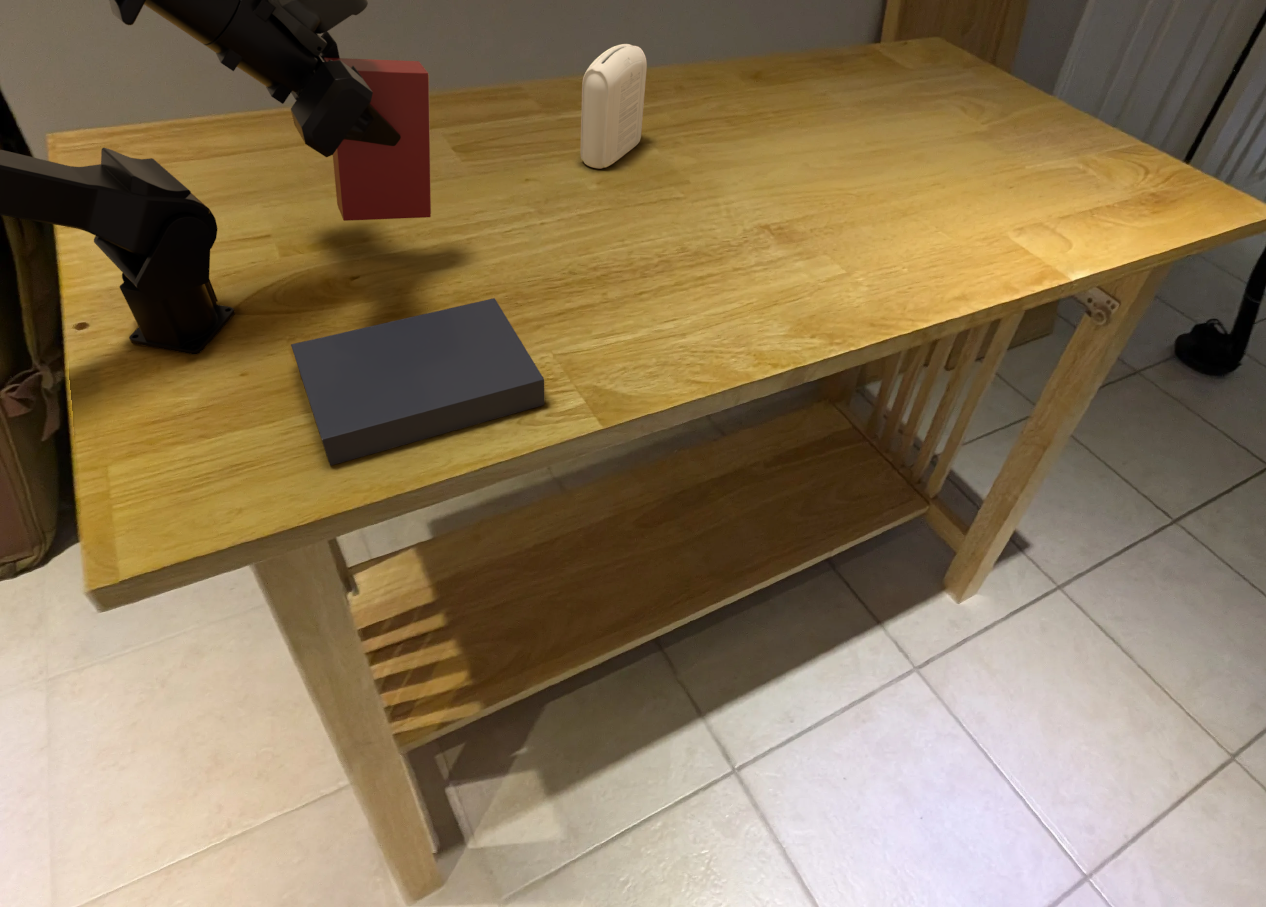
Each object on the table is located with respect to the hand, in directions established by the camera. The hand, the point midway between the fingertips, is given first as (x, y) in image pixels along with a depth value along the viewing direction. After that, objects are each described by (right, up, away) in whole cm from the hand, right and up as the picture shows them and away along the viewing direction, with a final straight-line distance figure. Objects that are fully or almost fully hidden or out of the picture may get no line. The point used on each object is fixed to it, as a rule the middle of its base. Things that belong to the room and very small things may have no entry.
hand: (390, 131), depth 71 cm
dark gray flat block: (+4, -23, -3) cm, 24 cm away
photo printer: (+19, +9, +29) cm, 35 cm away
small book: (-2, -6, +4) cm, 8 cm away
